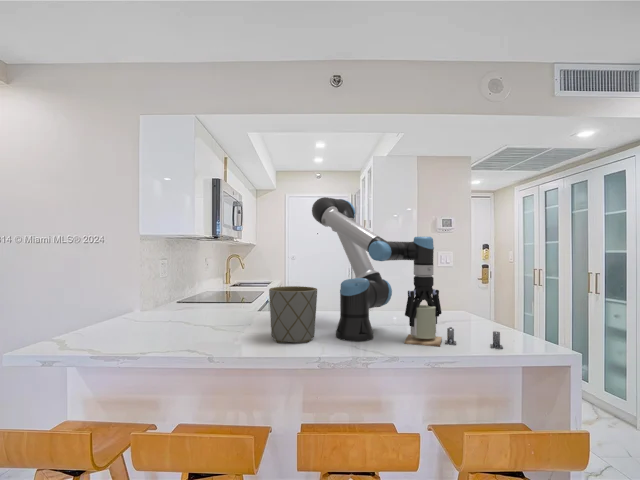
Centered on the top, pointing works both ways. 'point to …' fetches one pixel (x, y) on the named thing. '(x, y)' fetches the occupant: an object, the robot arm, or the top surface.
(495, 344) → the lug post right
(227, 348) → the top surface
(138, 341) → the top surface
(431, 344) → the tan flat square board
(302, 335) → the planter
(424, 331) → the can
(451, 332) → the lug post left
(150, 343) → the top surface
